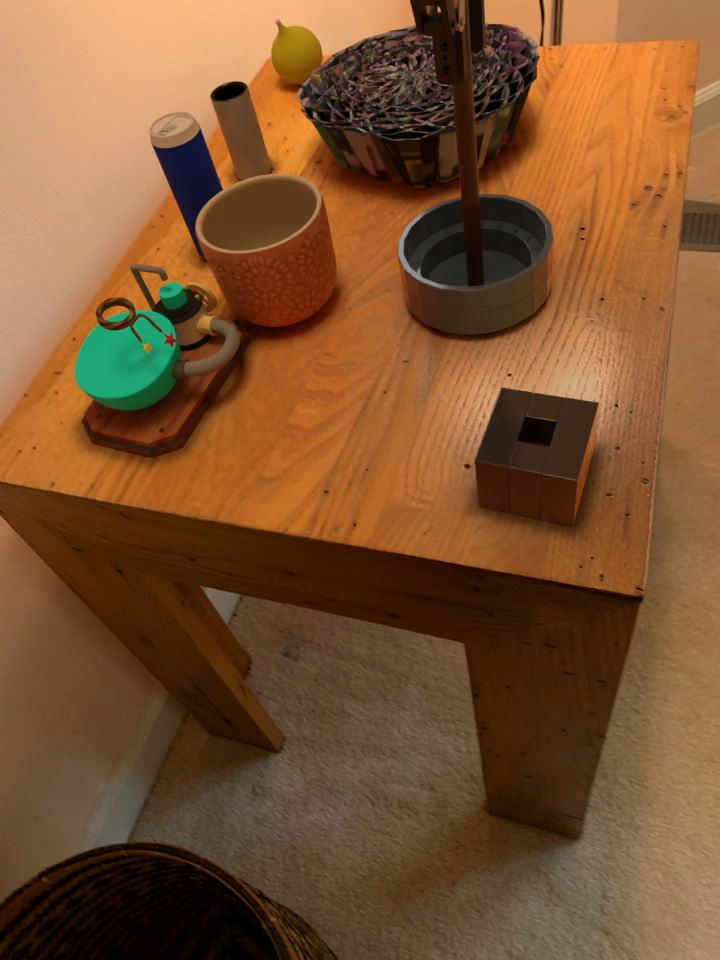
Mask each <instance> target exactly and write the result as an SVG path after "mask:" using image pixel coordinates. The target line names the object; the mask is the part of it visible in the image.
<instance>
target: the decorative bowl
mask: <svg viewBox="0 0 720 960" xmlns="http://www.w3.org/2000/svg"><path fill="white" fill-rule="evenodd" d="M485 31H486V43H485V45H484V47H483V49H482V50H481V51H480V52H471V58H472V76H473V93H474V110H475V128H476V145H477V163H478V172H479V171H481V170H482V168H483V166H485V165H487V164H489V163H492V162H494V161H495V160H496V158H497V157H498V154H499V153H500V152H501V151H503V150H505V149H507V148H508V147H509V146H510V145H511V144H512V142H513V139H514V137H515V133H516V130H517V128H518V125H519V121H520V119H521V116H522V113H523V110H524V108H525V105H526V102H527V99H528V96H529V93H530V90H531V86H532V84H533V83H534V82H535V81H537V79H538V66H537V65H538V62H539V60H540V57H541V56H540V55H539V54H538V47H539V44H538V43H537V42H536V41H535V40H534V39H533V38H532V37H531V36H530V35H527V34H525V33H524V32H523V31H522V30H521V29H519V27H517V26H511V25H508V24H503V23H488V22H485ZM296 100H297V101H298V103H299V104H300V105H301V106H300V111H301V113H302V114H303V115H304V117H305V118H306V119H307V120H308V121H310V122H311V124H312V125H313V126H314V128H315V130H316V132H317V133H318V134H319V136H320V138H321V139H322V140H323V142H324V144H325V145H326V147H327V148H328V150H329V151H330V153H331V155H332V156H333V158H334V159H335V161H336V162H337V164H338V166H339V167H340V168H341V169H343V170H346V171H350V172H352V173H354V174H355V175H361V176H369V177H370V178H371V180H374V181H378V182H390V181H392V182H393V183H398V184H405V185H407V186H409V187H411V188H413V189H426V188H429V187H432V186H433V185H435V183H436V182H440V183H447V182H448V183H449V182H451V181H452V180H454V179H458V178H459V166H458V153H457V141H456V128H455V115H454V103H453V90H452V85H442V84H439V83H438V82H437V79H436V71H435V61H434V50H433V40H432V35H419V34H418V32H417V28H416V24H414V25H410V26H406V27H402V28H397V29H393V30H389V31H386V32H383V33H379V34H376V35H373V36H369V37H366V38H362V39H361V40H359V41H357V42H355V43H353V44H352V45H350V46H348V47H345V48H343V49H341V50H339V51H337V52H335V53H333V54H332V55H331V56H330V57H328V59H327V60H325V61H323V62H322V64H321V65H320V66H319V67H318V68H316V69H315V70H314V71H313V72H312V73H311V76H310V78H309V79H308V80H307V81H305V82H304V83H303V84H300V86H299V89H298V91H297V93H296Z"/></svg>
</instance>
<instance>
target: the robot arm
mask: <svg viewBox="0 0 720 960" xmlns="http://www.w3.org/2000/svg"><path fill="white" fill-rule="evenodd" d="M409 3H410V8H411V12H412V15H413V19H414V25H416V28H417V32H418V34H419V35H432V40H433V50H434V61H435V71H436V79H437V82H438V83H439V84H442V85H461V84H463V83H464V81H465V79H466V77H467V58H466V42H465V27H464V25H465V0H409ZM468 6H469V23H470V41H471V52H480V51H481V50H482V49H483V47H484V45H485V43H486V31H485V23H486V11H485V10H486V9H485V0H468ZM439 10H440V11H439Z"/></svg>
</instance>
